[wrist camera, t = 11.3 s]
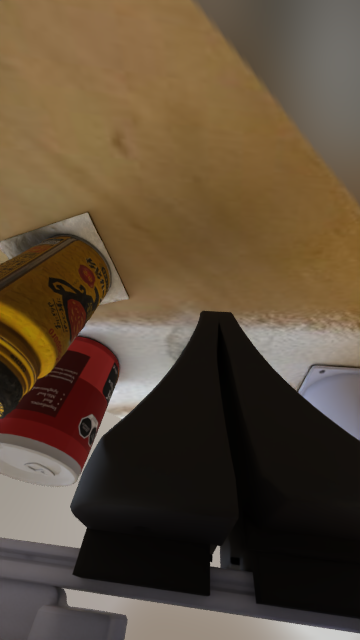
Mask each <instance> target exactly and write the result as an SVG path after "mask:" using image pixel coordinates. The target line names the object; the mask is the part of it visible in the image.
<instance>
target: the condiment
mask: <svg viewBox="0 0 360 640" xmlns="http://www.w3.org/2000/svg"><path fill="white" fill-rule="evenodd" d="M0 249H1V251H2V252H3V253H4V254H6V255H7V257H8V258H9V260H8V261H6V262H4V263H1V265H0V419H3V418H4V417H5V416H6V415H7V414H8V413H11V411H12V410H14V409H16V406H17V405H18V404H19V401H20V400H21V399H22V397H23V396H24V395H25V394H26V393H27V392H28V391H30V390H31V389H32V387H33V386H34V384H35V383H36V381H37V379H39V378H42V377H44V376H46V375H47V374H48V373H50V371H51V370H53V369H54V367H55V366H56V364H57V363H58V362H59V361H60V359H61V357H62V356H63V355H64V354H65V352H66V351H67V349H68V348H69V346H70V345H71V344H72V342H73V341H74V339H75V338H76V337H77V335H78V334H79V332H80V331H81V330H82V329H83V328H84V326H85V324H86V322H87V321H88V320H89V319H90V318H91V316H92V314H93V313H94V311H95V310H96V308H97V307H98V306H99V305H101V304H106V303H110V302H116V301H119V300H125V299H129V297H128V295H127V293H126V291H125V289H124V286H123V284H122V282H121V280H120V278H119V275H118V273H117V271H116V269H115V267H114V265H113V263H112V261H111V259H110V257H109V255H108V253H107V251H106V249H105V247H104V244H103V242H102V241H101V239H100V237H99V235H98V234H97V231H96V229H95V227H94V225H93V223H92V221H91V219H90V217H89V215H88V212H87V213H84V214H81V215H78V216H75V217H72V218H69V219H66V220H63V221H60V222H57V223H54V224H51V225H48V226H45V227H42V228H40V229H36V230H34V231H31V232H28V233H25V234H21V235H19V236H15V237H13V238H10V239H7V240H4V241H1V242H0Z"/></svg>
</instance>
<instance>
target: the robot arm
mask: <svg viewBox="0 0 360 640" xmlns="http://www.w3.org/2000/svg"><path fill="white" fill-rule="evenodd" d="M70 508H71V511H72V513H73V514H74V515H75V517H76V518H78V519H79V520H80V521H81V522H82V523H83V524H84V525H85V526H86V527H87V529H86V533H85V536H84V539H83V542H82V545H81V548H80V549H79V548H72V547H65V546H58V545H51V544H44V543H36V542H29V541H21V540H13V539H6V538H0V640H124V638H125V632H126V626H127V617H126V615H122V614H116V613H110V612H105V611H99V610H93V609H86V608H78V607H70V606H68V604H67V601H66V600H67V599H66V598H67V597H66V593H65V591H64V589H62V588H66V589H73V590H79V591H86V592H93V593H99V594H105V595H112V596H118V597H125V598H131V599H138V600H144V601H151V602H157V603H164V604H171V605H177V606H184V607H190V608H197V609H203V610H210V611H217V612H224V613H230V614H236V615H243V616H250V617H256V618H262V619H269V620H276V621H283V622H289V623H295V624H302V625H309V626H315V627H322V628H329V629H335V630H341V631H348V632H354V633H360V368H346V367H332V366H313V367H312V368H311V369H310V371H309V373H308V374H307V376H306V378H305V380H304V382H303V384H302V386H301V388H300V390H299V391H298V392H297V391H296V390H295V389H293V388H292V387H291V386H290V385H289V384H288V383H287V382H286V381H285V380H284V379H283V378H282V377H281V376H280V375H279V374H278V373H277V372H276V371H275V370H274V369H273V368H272V367H271V366H270V364H269V363H268V362H267V361H266V360H265V359H264V358H263V356H262V355H261V354H260V353H259V352H258V350H257V349H256V348H255V346H254V345H253V344H252V342H251V341H250V340H249V338H248V337H247V336H246V334H245V333H244V331H243V330H242V328H241V327H240V325H239V324H238V322H237V321H236V319H235V317H234V316H233V314H232V313H231V312H214V311H202V312H201V313H200V318H199V321H198V324H197V326H196V329H195V331H194V333H193V335H192V337H191V339H190V341H189V342H188V344H187V346H186V347H185V349H184V351H183V352H182V354H181V355H180V357H179V358H178V360H177V361H176V363H175V364H174V365H173V367H172V368H171V369H170V370H169V372H168V373H167V374H166V375H165V377H164V378H163V379H162V380H161V381H160V382H159V384H158V385H157V386H156V387H155V388H154V389H153V390H152V391H151V392H150V393H149V394H148V395H147V396H146V397H145V398H144V399H143V400H142V401H141V402H140V403H139V404H138V405H137V406H136V407H135V408H134V409H133V410H132V411H131V412H130V413H129V414H128V415H126V416H125V417H124V418H123V419H122V420H121V421H120V422H118V423H117V424H116V425H115V426H114V427H113V428H111V429H110V430H109V431H108V432H107V433H106V434H104V435H103V436H102V438H101V439H100V441H99V442H98V444H97V446H96V448H95V449H94V451H93V453H92V455H91V457H90V459H89V461H88V463H87V465H86V467H85V469H84V471H83V473H82V476H81V479H80V481H79V484H78V487H77V489H76V492H75V495H74V498H73V500H72V503H71V506H70ZM217 546H220V563H221V568H218V567H210V562H212V554H213V552H214V551H215V549H216V547H217Z"/></svg>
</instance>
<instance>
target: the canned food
mask: <svg viewBox="0 0 360 640" xmlns="http://www.w3.org/2000/svg"><path fill="white" fill-rule="evenodd" d="M118 377H119V363H118V360H117V359H116V357H115V355H114V354H113V353H112V352H111V351H110V350H109V349H108V348H107V347H105V346H104V345H102V344H100V343H98V342H96V341H94V340H91V339H89V338H84V337H76V338H75V339H74V341H73V342H72V344H71V345H70V346H69V348H68V349H67V351H66V352H65V354H64V355H63V356H62V357H61V359H60V361H59V362H58V363H57V364H56V366H55V367H54V369H53V370H51V371H50V373H48V374H47V375H46V376H44V377H42V378H39V379H37V381H36V383H35V384H34V386H33V387H32V389H31V390H30V391H28V392H27V393H26V394H25V395H24V396H23V397H22V399H21V400H20V401H19V404H18V405H17V406H16V409H14V410H12V411H11V413H8V414H7V415H6V416H5V417H4V418H3V419H0V474H3V475H5V476H8V477H10V478H13V479H16V480H20V481H23V482H27V483H31V484H36V485H42V486H50V487H61V486H62V487H63V486H68V485H72V484H74V483H75V482H76V481H77V480H78V477H79V475H80V474H81V472H82V469H83V466H84V464H85V462H86V460H87V457H88V454H89V452H90V450H91V447H92V444H93V442H94V439H95V437H96V434H97V432H98V429H99V426H100V424H101V421H102V419H103V416H104V414H105V411H106V409H107V406H108V403H109V401H110V398H111V396H112V393H113V391H114V388H115V385H116V383H117V380H118Z"/></svg>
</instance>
